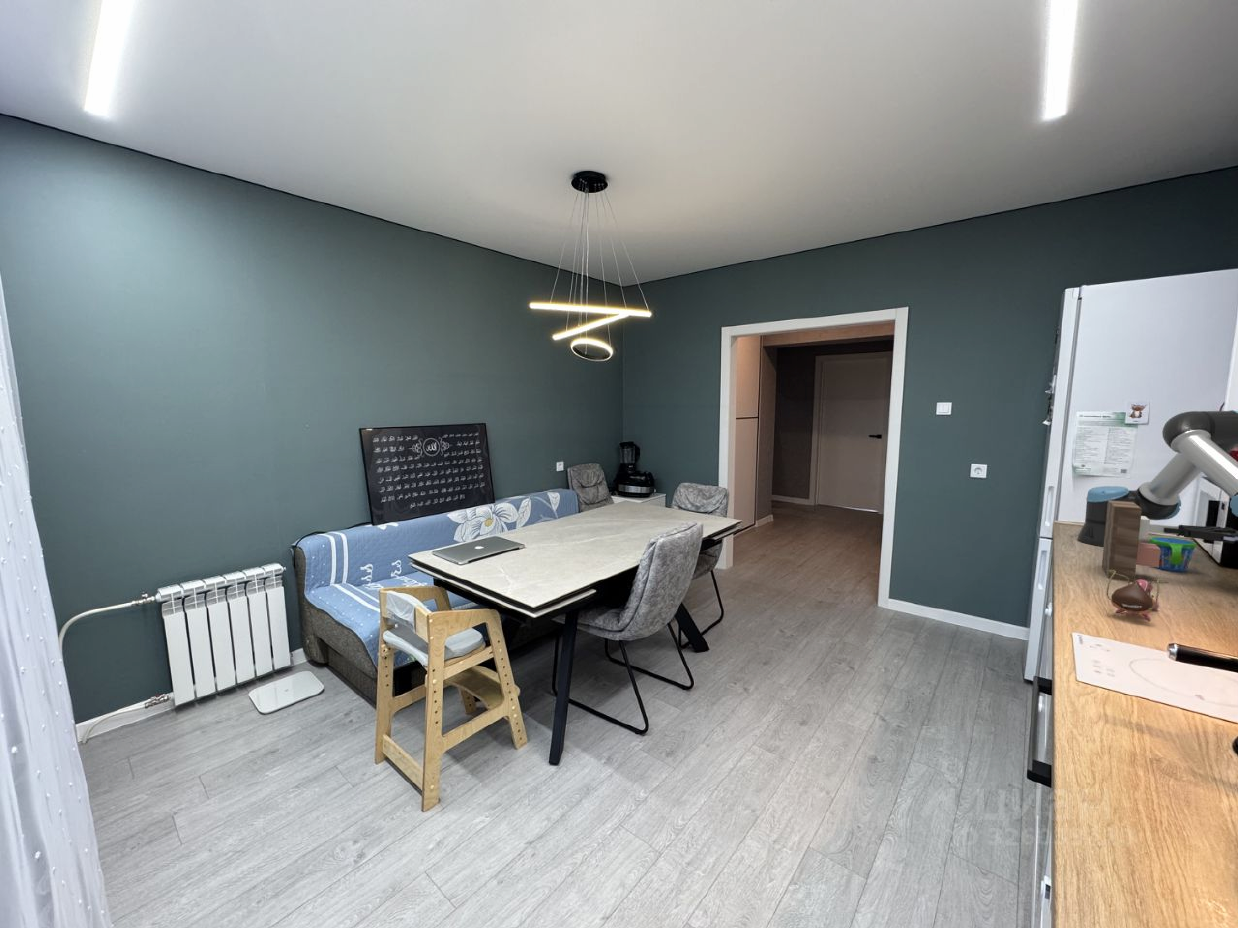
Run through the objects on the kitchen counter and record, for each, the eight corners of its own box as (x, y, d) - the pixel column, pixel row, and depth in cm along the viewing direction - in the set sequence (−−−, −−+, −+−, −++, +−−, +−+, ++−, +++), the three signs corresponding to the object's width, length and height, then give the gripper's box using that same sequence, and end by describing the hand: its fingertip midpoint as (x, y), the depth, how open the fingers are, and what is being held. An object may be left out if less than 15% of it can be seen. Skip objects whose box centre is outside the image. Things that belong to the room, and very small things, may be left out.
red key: (1131, 559, 163) (1133, 541, 163) (1153, 561, 160) (1155, 544, 160) (1135, 564, 158) (1137, 546, 157) (1158, 567, 155) (1160, 548, 154)
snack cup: (1146, 560, 177) (1149, 533, 176) (1191, 567, 170) (1194, 538, 168) (1147, 570, 166) (1150, 541, 165) (1195, 578, 159) (1198, 547, 158)
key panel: (1101, 567, 171) (1107, 500, 168) (1126, 570, 167) (1132, 501, 164) (1108, 578, 160) (1114, 506, 157) (1134, 582, 156) (1141, 508, 153)
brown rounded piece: (1177, 597, 134) (1173, 560, 127) (1164, 643, 129) (1160, 608, 121) (1119, 585, 143) (1112, 550, 136) (1105, 628, 138) (1097, 594, 131)
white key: (1121, 531, 164) (1123, 514, 163) (1143, 533, 161) (1145, 516, 160) (1125, 536, 159) (1127, 518, 158) (1148, 538, 156) (1150, 520, 155)
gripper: (1272, 556, 139) (1151, 543, 153) (1253, 545, 149) (1142, 534, 163) (1275, 530, 138) (1153, 520, 152) (1256, 521, 148) (1144, 512, 162)
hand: (1147, 527), depth 158 cm, fingers closed
